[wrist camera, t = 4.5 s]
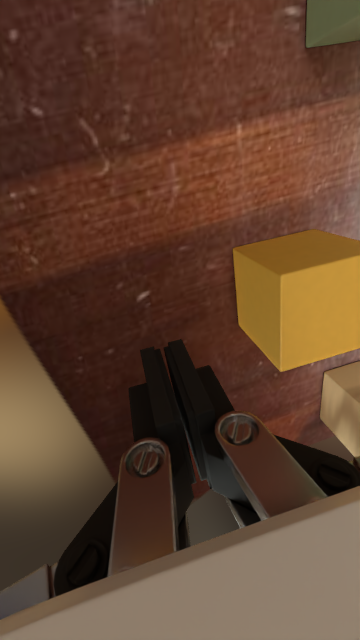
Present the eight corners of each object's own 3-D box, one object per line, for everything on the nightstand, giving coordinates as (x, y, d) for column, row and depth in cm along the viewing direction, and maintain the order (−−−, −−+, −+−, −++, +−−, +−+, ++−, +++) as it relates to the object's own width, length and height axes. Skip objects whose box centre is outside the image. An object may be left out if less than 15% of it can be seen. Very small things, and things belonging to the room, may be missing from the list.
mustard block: (309, 306, 19) (371, 345, 15) (238, 325, 18) (280, 372, 14) (314, 228, 17) (389, 247, 12) (232, 247, 16) (281, 275, 12)
